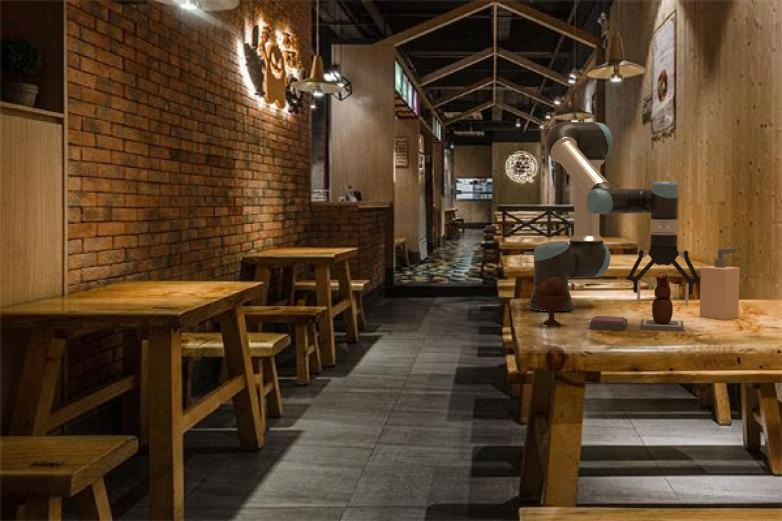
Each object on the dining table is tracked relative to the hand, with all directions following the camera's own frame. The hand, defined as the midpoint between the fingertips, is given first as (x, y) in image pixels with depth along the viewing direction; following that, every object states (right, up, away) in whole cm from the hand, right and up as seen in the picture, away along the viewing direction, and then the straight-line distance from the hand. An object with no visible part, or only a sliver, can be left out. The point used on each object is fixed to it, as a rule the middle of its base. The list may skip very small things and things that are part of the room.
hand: (662, 304), depth 229 cm
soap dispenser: (+26, -5, +19) cm, 32 cm away
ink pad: (-16, -7, +1) cm, 17 cm away
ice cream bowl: (-32, -7, +6) cm, 33 cm away
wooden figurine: (0, -6, +1) cm, 6 cm away
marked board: (0, -7, +1) cm, 7 cm away
